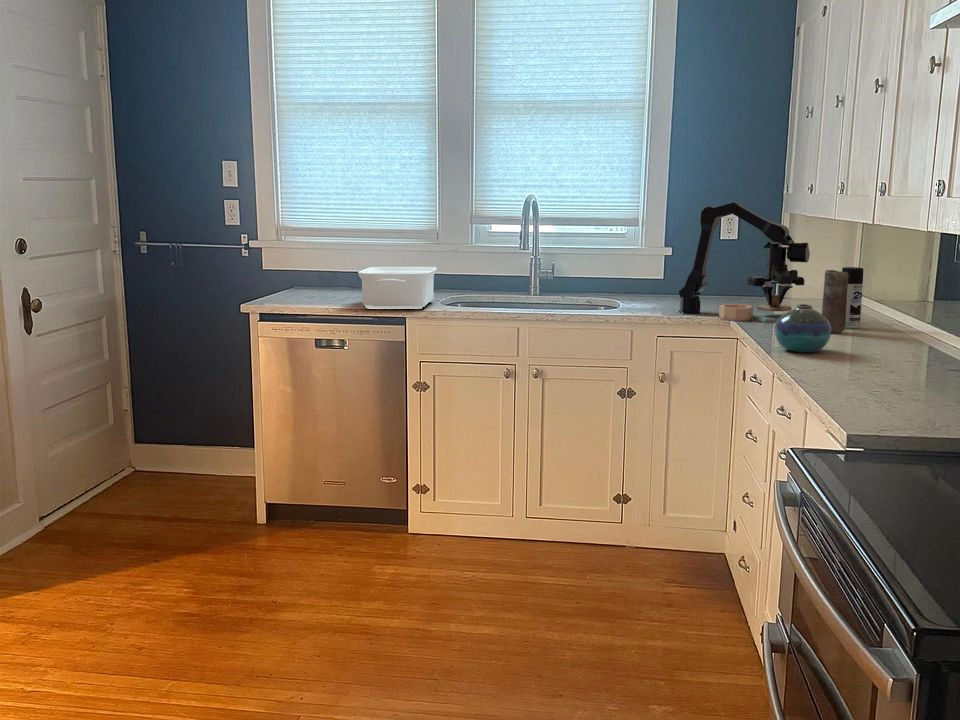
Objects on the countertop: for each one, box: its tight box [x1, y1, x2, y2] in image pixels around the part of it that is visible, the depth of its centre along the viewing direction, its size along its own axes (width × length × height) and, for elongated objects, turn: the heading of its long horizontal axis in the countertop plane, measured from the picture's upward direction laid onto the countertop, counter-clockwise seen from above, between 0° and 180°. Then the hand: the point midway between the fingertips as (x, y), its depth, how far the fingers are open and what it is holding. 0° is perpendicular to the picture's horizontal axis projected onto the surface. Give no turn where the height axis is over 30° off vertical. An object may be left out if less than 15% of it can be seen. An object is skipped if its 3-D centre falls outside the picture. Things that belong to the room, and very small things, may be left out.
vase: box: [774, 303, 832, 354], centre depth 255 cm, size 15×15×13 cm
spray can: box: [841, 266, 864, 330], centre depth 294 cm, size 7×7×20 cm
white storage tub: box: [357, 266, 438, 307], centre depth 355 cm, size 34×29×15 cm
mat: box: [751, 312, 785, 323], centre depth 316 cm, size 13×13×1 cm
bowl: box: [718, 303, 754, 322], centre depth 317 cm, size 11×11×4 cm
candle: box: [821, 269, 849, 334], centre depth 285 cm, size 8×7×20 cm
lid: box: [757, 294, 793, 312], centre depth 315 cm, size 12×12×5 cm
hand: (774, 305), depth 315 cm, fingers closed on lid, 3 cm apart
